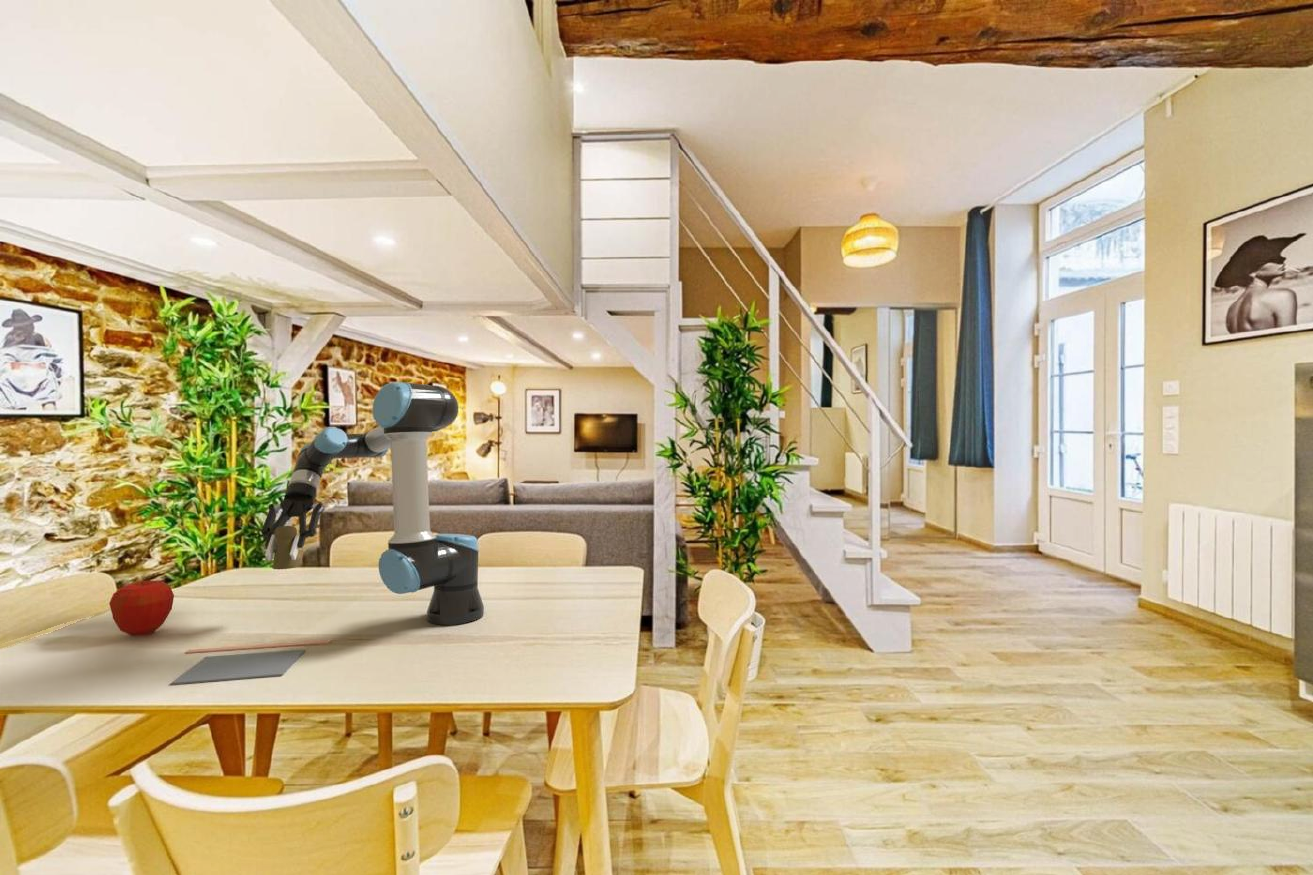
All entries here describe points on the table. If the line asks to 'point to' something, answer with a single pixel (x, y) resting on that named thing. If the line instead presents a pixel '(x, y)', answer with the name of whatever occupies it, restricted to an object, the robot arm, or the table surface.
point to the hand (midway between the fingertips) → (280, 557)
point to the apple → (141, 606)
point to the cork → (284, 548)
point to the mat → (239, 667)
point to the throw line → (258, 646)
